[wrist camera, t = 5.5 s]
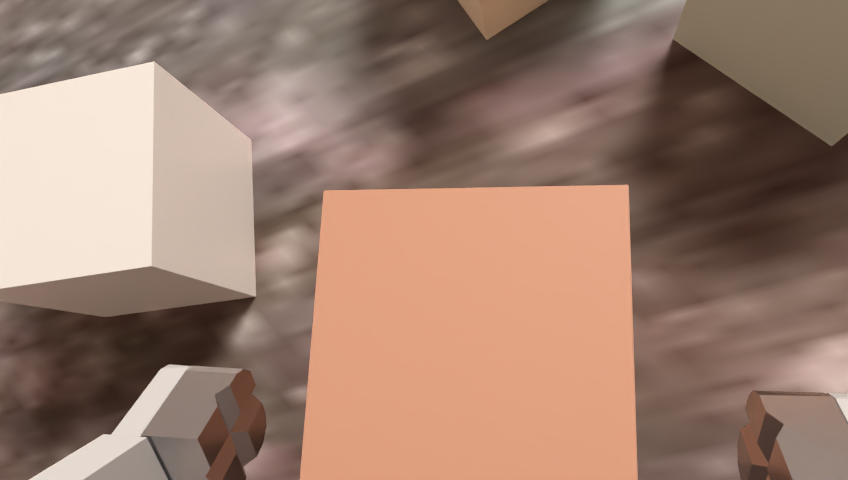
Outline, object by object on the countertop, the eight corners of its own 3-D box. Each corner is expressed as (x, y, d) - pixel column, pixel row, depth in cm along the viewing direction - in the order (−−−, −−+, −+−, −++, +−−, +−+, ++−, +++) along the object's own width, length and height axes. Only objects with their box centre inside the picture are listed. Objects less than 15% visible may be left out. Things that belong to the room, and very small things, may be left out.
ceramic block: (252, 141, 19) (154, 61, 15) (256, 297, 18) (151, 265, 13) (112, 166, 20) (-24, 99, 15) (107, 317, 19) (-43, 295, 14)
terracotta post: (587, 290, 16) (628, 184, 8) (589, 448, 15) (638, 532, 7) (438, 287, 17) (324, 190, 8) (432, 438, 16) (298, 501, 8)
